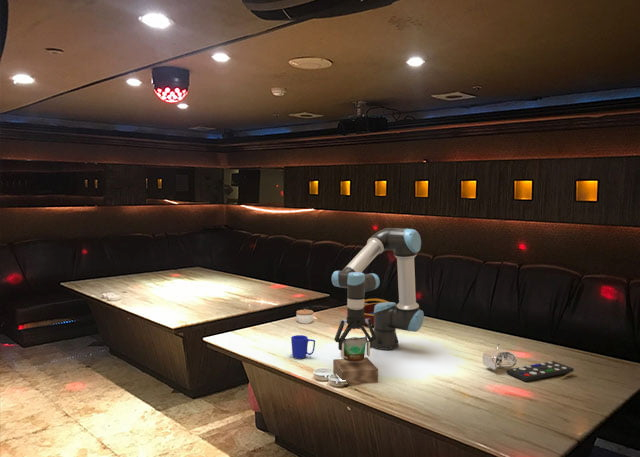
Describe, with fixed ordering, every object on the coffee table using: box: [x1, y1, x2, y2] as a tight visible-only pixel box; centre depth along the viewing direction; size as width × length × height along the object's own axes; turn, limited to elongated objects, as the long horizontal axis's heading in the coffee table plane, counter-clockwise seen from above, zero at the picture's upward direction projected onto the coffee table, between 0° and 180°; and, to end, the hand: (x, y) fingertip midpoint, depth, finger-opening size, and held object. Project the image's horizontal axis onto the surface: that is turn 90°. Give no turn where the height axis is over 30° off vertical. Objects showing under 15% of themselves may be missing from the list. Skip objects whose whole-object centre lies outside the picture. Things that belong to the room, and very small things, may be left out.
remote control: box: [506, 360, 575, 382], centre depth 231 cm, size 11×30×2 cm, turn 115°
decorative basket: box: [363, 298, 389, 326], centre depth 318 cm, size 34×29×15 cm
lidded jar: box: [296, 308, 314, 325], centre depth 312 cm, size 11×11×9 cm
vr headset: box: [482, 343, 518, 371], centre depth 235 cm, size 14×9×11 cm, turn 115°
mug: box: [290, 334, 316, 359], centre depth 248 cm, size 8×12×10 cm
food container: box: [343, 334, 368, 362], centre depth 221 cm, size 12×6×10 cm, turn 106°
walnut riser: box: [332, 356, 379, 386], centre depth 221 cm, size 16×16×6 cm
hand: (355, 356), depth 221 cm, fingers closed on food container, 11 cm apart
